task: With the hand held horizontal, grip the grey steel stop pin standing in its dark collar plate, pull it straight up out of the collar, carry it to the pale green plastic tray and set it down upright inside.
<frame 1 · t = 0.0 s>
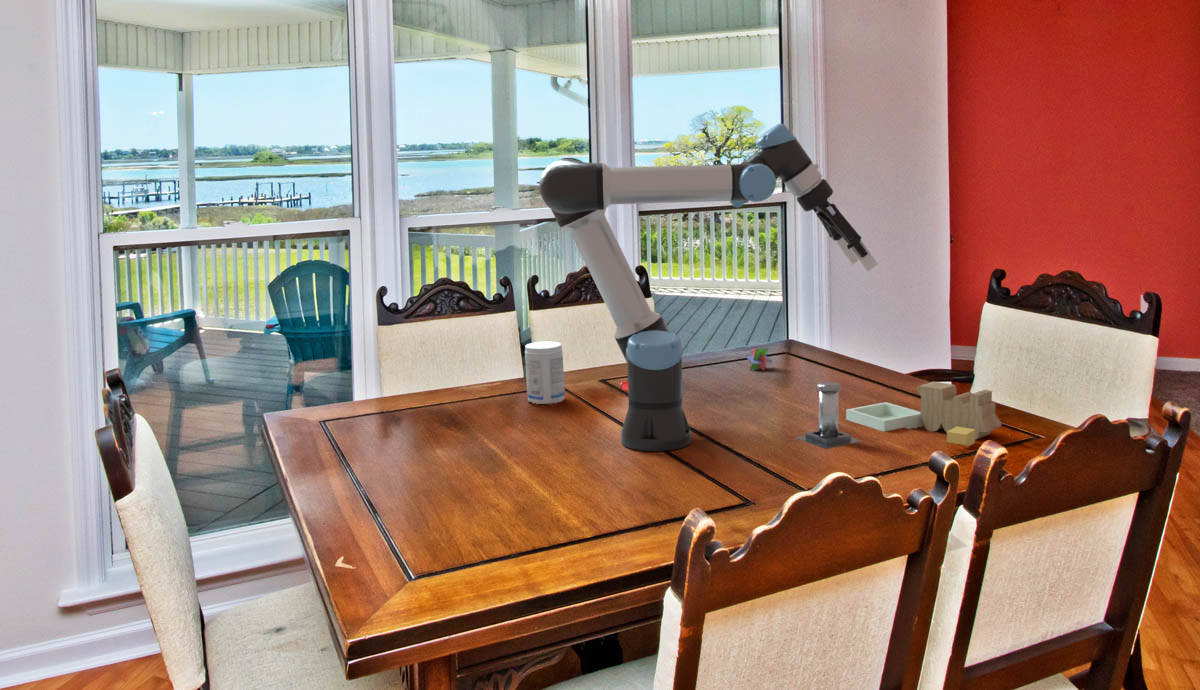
hand: (864, 264, 226), 36 cm above the table, tool tilted 35°, fingers open, 13 cm apart
stop pin: (828, 439, 216), point 1 cm above the table, touching collar plate
tray: (884, 424, 228), on the table
toy train: (957, 434, 221), on the table
tow hook: (637, 390, 269), on the table
supplement tub: (546, 401, 259), on the table
geometric puzzle: (758, 370, 288), on the table
tan rectangular block: (960, 444, 212), on the table
collar plate: (828, 442, 216), on the table
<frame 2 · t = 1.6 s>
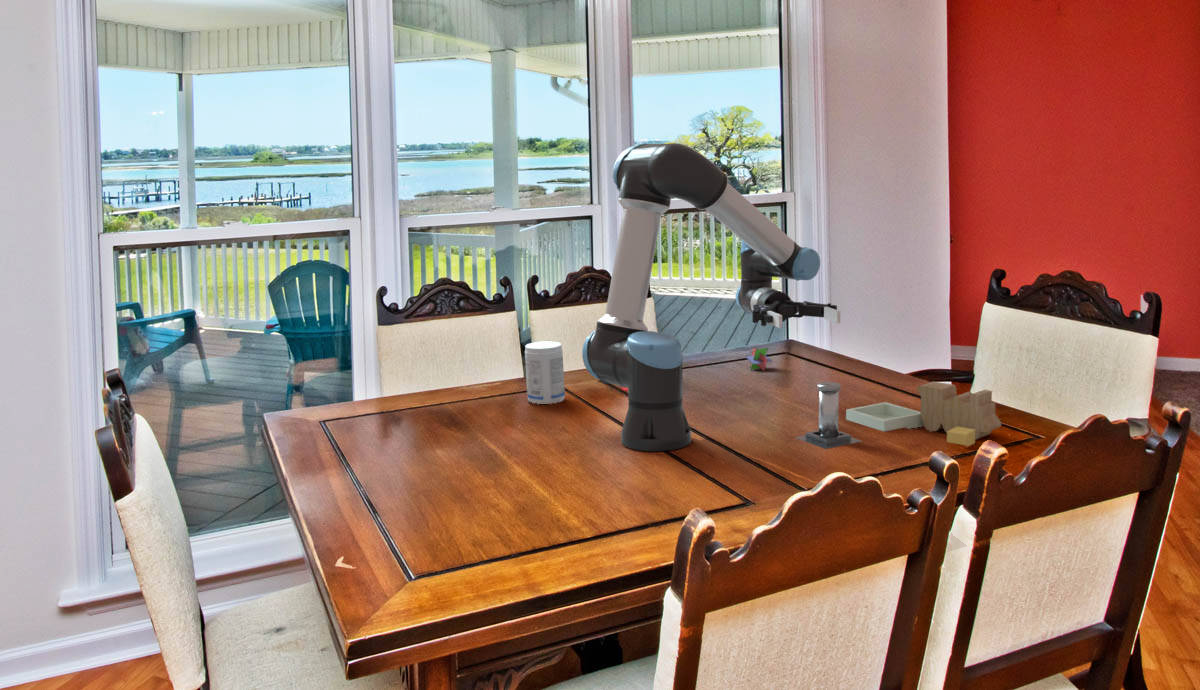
hand: (809, 319, 220), 25 cm above the table, tool horizontal, fingers open, 13 cm apart
nothing on the table moved.
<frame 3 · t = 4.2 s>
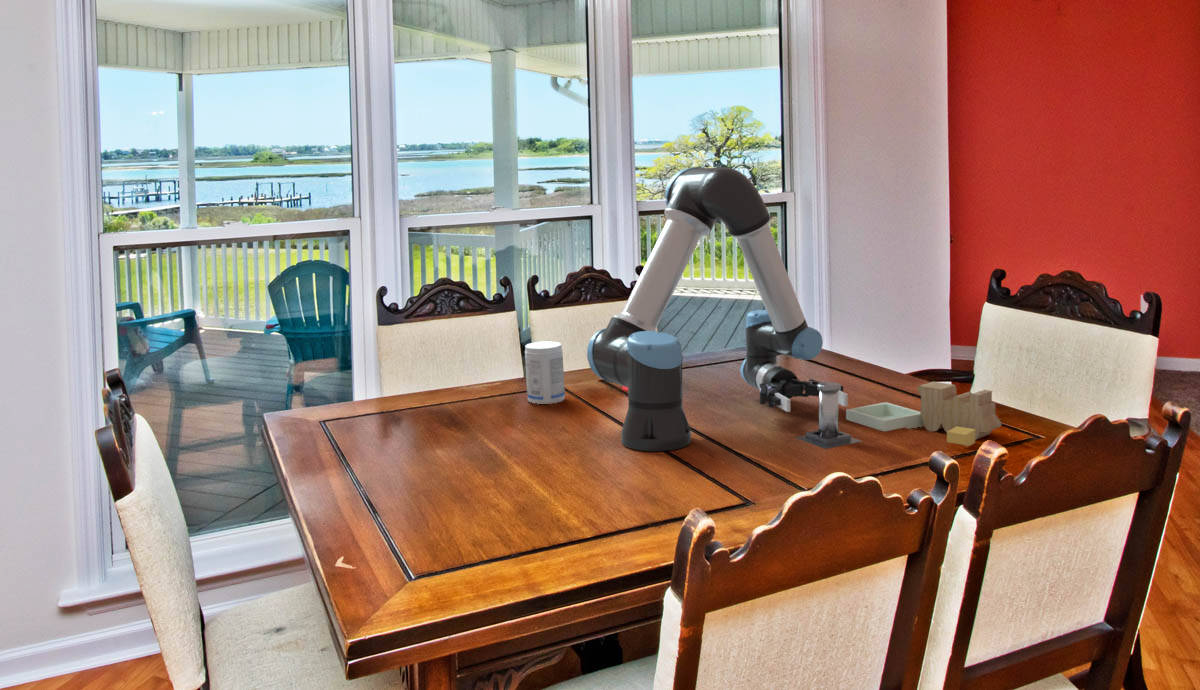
hand: (817, 403, 221), 7 cm above the table, tool horizontal, fingers open, 13 cm apart
nothing on the table moved.
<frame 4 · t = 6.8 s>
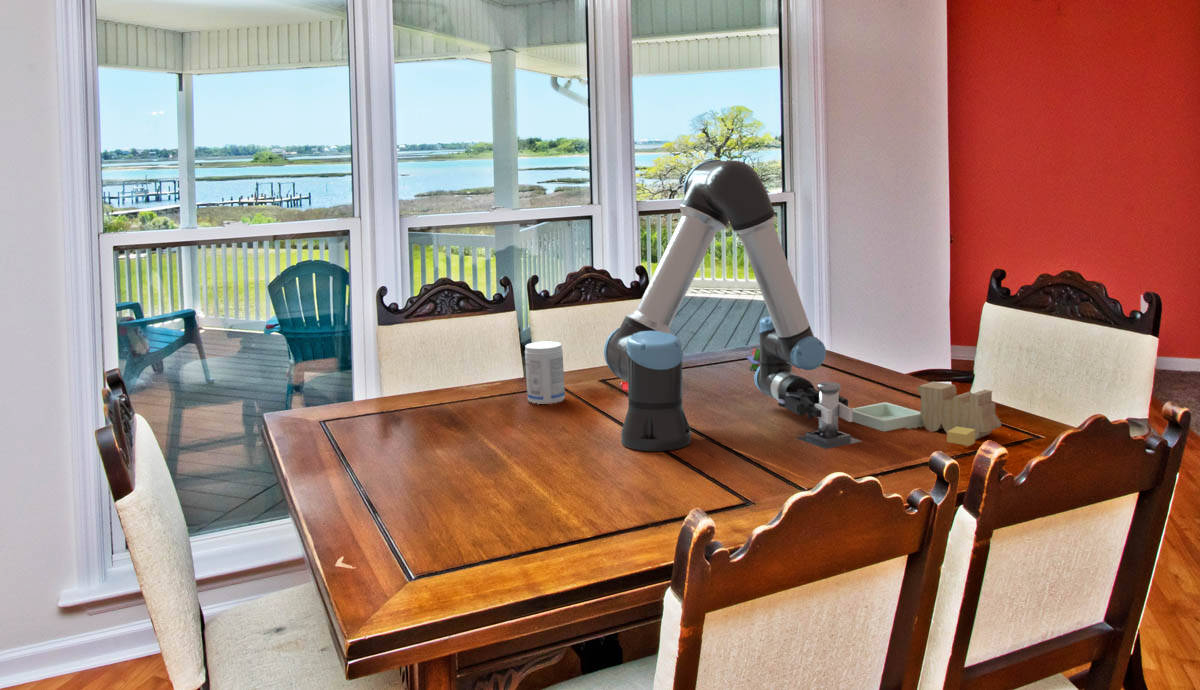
hand: (840, 416, 209), 7 cm above the table, tool horizontal, fingers closed on stop pin, 4 cm apart
stop pin: (828, 439, 216), point 1 cm above the table, touching collar plate, gripper
everything else where it was.
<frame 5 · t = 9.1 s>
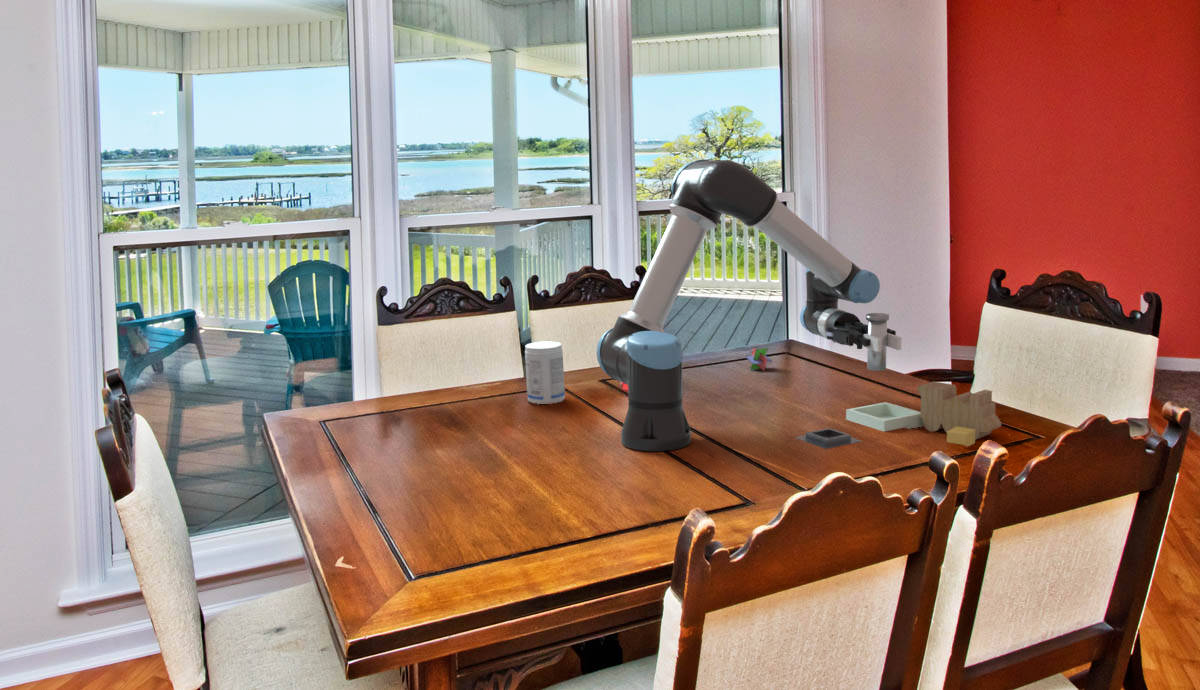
hand: (889, 344, 216), 20 cm above the table, tool horizontal, fingers closed on stop pin, 4 cm apart
stop pin: (876, 368, 222), point 14 cm above the table, touching gripper
everything else where it was.
when the fingers open (8 cm above the table, at t = 11.8 s): stop pin stays where it is, resting on tray.
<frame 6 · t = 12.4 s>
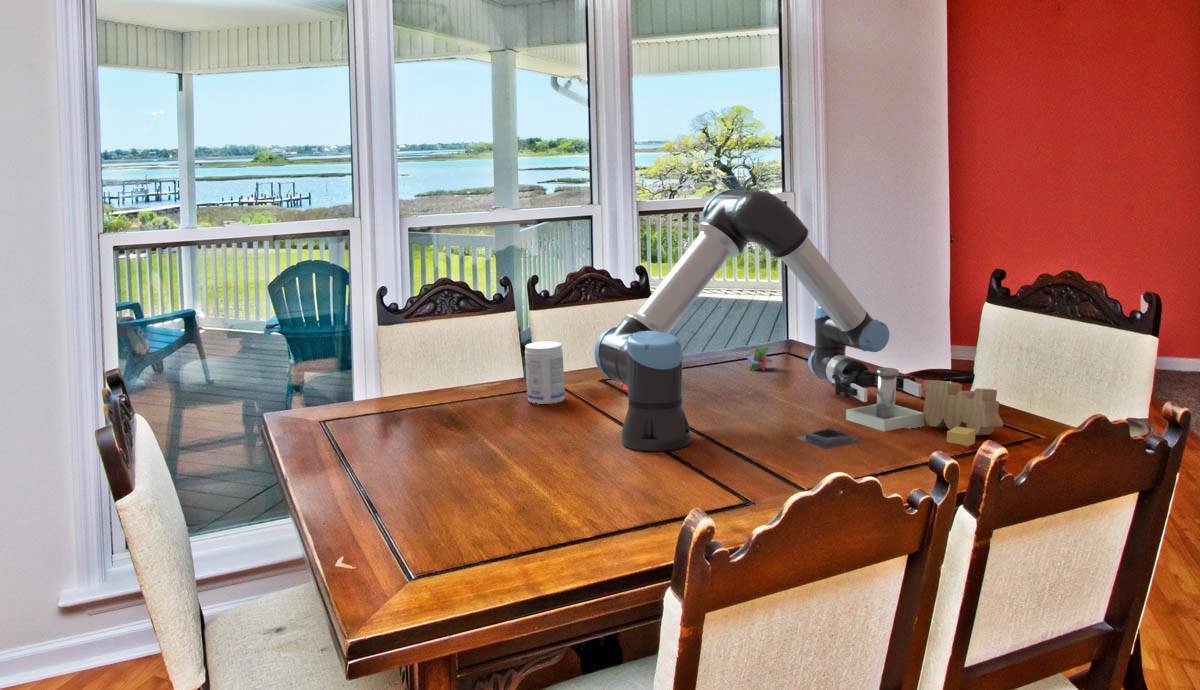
hand: (893, 393, 224), 8 cm above the table, tool horizontal, fingers open, 13 cm apart
stop pin: (884, 421, 228), point 1 cm above the table, touching tray
toy train: (958, 431, 221), on the table, touching gripper
everything else where it was.
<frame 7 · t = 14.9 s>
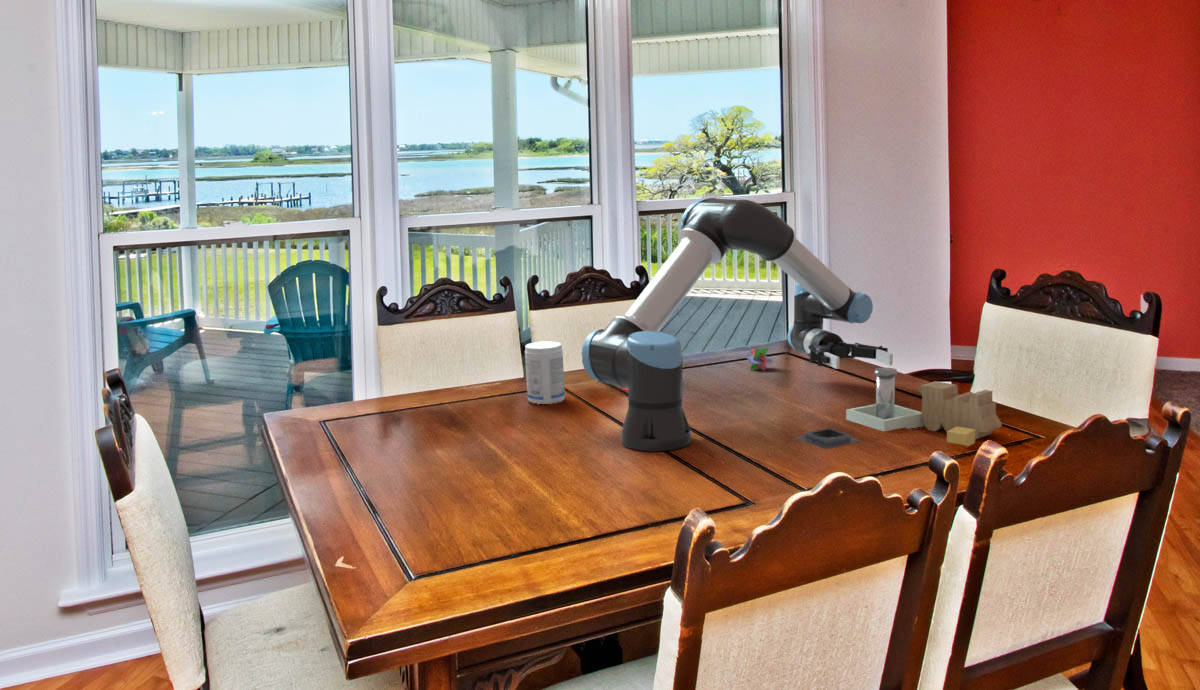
hand: (864, 361, 236), 12 cm above the table, tool horizontal, fingers open, 13 cm apart
toy train: (957, 433, 221), on the table
everything else where it was.
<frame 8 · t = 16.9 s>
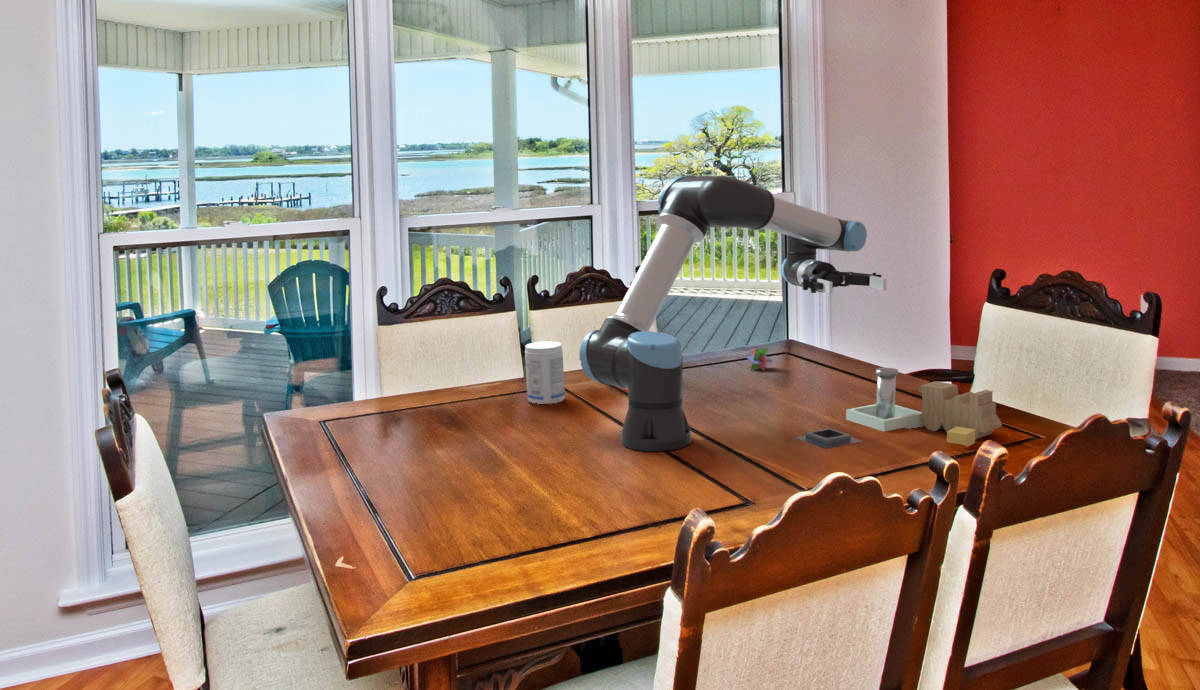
hand: (858, 286, 234), 30 cm above the table, tool horizontal, fingers open, 13 cm apart
nothing on the table moved.
at the end: stop pin inside the target area on the tray (0.0 cm from its centre), point 0.6 cm above the tray's base; the gripper is holding nothing; toy train moved 0.7 cm from its start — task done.
